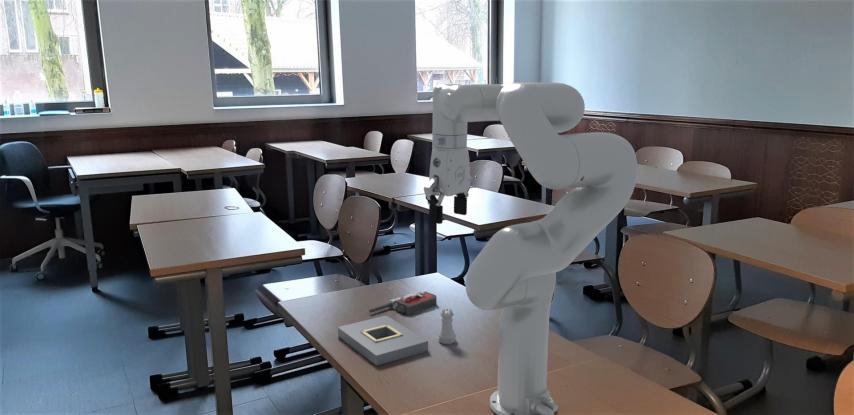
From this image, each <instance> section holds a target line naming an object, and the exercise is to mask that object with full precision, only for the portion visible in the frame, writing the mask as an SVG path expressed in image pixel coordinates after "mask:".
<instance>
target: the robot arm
mask: <svg viewBox="0 0 854 415" xmlns="http://www.w3.org/2000/svg"><path fill="white" fill-rule="evenodd" d="M585 106H586V105H585V99H584V98H583V96H582V94H581V92H579V91H578V89H577V88H575V87H573V86H572V85H569V84H566V83H563V82H562V83H561V82H523V81H522V82H521V81H519V82H518V81H517V82H516V81H515V82H514V81H513V82H510V83H507V84H505V83H504V84H502V83H501V84H500V83H498V84H496V83H494V84H493V83H485V84H484V83H483V84H482V83H481V84H480V83H477V84H476V83H474V84H460V83H459V84H458V83H441V84H437V85H435V86H434V88H433V90H432V130H431V131H432V134H431V135H432V136H431V138H432V142H431V143H432V145H431V148H432V150H431V156H430V163H429V164H430V165H429V180H428V182H427V183H426V185H425V186H424V187H423V192H424V195H425V200H426V202H427V205H428V209H429V210H428V221H429V222H430V223H431V224H432V223H434V224H437V225H441V224H443V221H444V220H443V216H444V215H443V214H444V212H443V211H444V209H443V208H444V206H443V205H442V203H443V201H444V198H445V197H452V196H454V197H453V213H454V214H456V215H462V216H466V215H467V213H468V212H467V211H468V197H469V195H470V194H469V191H470V188H471V183H472V179H473V176H472V175H471V165H470V163H471V162H470V156H469V154H470V153H469V148H468V123H474V122H493V121H495V122H496V121H498V122H499V121H500V123H501V124H502V126H503V129H504V131H505V132H506V135H507V137H508V138H509V140H510V142H511V143H512V145H513V146H514V148H515V150H516V151H517V153H518V155H519V156H520V158H521V159H522V162H523V163H524V165H525V166H526V167H527V169H528V171H529V173H530V174H531V176H532V177H533V178H534V180H535V181H536V182H537V183H538V184H539V185H541V186H542V187H544V188H546V189H549V190H566V189H567V190H568V189H572V190H571V191H570V192H567V194H565V195H563V197H562V198H560V199H559V200H558V202H556V204H555V205H554V206H553V208H552V209H550V211H549V212H548V213H547V214H546V215H545V216H544V217H542V218H540V219H536V220H532V221H529V222H524V223H523V222H522V223H516V224H512V225H508V226H505V227H503V228H501V229H500V230H498V231H497V232H496V233H494V234H493V235H492V236H491V237H490V239H488V241H487V242H486V244H485V245H484V247H483V248H482V249H481V250H480V252H479V253H478V254H477V256H476V257H475V259H474V260H473V261H472V263H471V264H470V266H469V268H468V271H467V273H466V277H465V292H466V295H467V297H468V300H469V301H470V302H471V304H472V305H473V306H475V307H476V308H478V309H479V310H483V311H497V310H499V309H502V310H501V314H500V316H499V320H498V345H497V346H498V348H497V351H498V353H497V354H498V355H497V390H495V391H493V393H492V394H490V397H489V407H490V409H491V410H492V412H494V413H495V414H496V415H555V412H557V411H558V410H559V405H557V404H556V403H555V401H554V400H553V398H552V397H551V392H550V391H551V390H549V389H547V382H548V381H547V380H548V351H549V349H548V348H549V334H550V332H549V327H550V313H551V306H552V305H551V304H552V301H553V297H554V292H555V289H556V284H557V283H556V282H557V274H556V273H558V272H560V271H563V270H564V269H566V268H567V267H568V266H569V265H571V264H572V262H573V261H574V260H575V259H576V258H577V257H579V255H580V254H581V253H582V252H583V251H584V250H585V249H586V248H587V247H588V246H589V244H591V243H592V242H593V240H594V239H595V238H596V237H597V236H598V234H600V233H601V232H602V231H603V230H604V229H605V228H606V227H607V226H608V225H609V224H610V223H611V222H612V221H614V219H615V218H616V217H617V216H618V215H619V213H621V211H622V210H623V209H624V208H625V207H626V205H627V204H628V202H629V201H630V199H631V197H632V195H633V193H634V189H635V188H636V182H637V180H638V179H637V178H638V160H637V154H636V152H635V149H634V148H633V145H632V144H631V143H630V142H629V141H628V140H627V139H626V138H624V137H622V136H621V135H618V134H615V133H611V132H604V131H603V132H600V131H597V132H596V131H595V132H594V131H593V132H580V133H568V134H567V133H565V132H567V131H570V130H571V129H574V128H575V127H576V126H577V125H578V124H579V123H580V122H581V120H582V118H584V114H585V109H586V107H585ZM561 133H565V134H561ZM436 196H437V197H436Z"/></svg>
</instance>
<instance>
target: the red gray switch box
mask: <svg viewBox="0 0 854 415" xmlns="http://www.w3.org/2000/svg"><path fill="white" fill-rule="evenodd" d="M437 299H438V298H437V295H435V294H434V293H431V292H428V291H419V292H418V293H415V292H411V293H407V294H404V295H402V296H400V297H396V298H393V299H390V300H389V301H388V302H387V303H386V304H382V305H378V306H375V307H373V308H372V307H371V308H369V310H368V311H369V314H370V313H374V312H377V311H381V310H383V309H386V308H387V309H388V308H392V310H395V311H398V312H399V313H400V314H404V315H413V314H415V313H418V312H421V311H424V310H426V309H431V308H432V307H433V308H434V307H436V306H437V304H438V303H437Z"/></svg>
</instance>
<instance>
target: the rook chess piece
mask: <svg viewBox="0 0 854 415" xmlns="http://www.w3.org/2000/svg"><path fill="white" fill-rule="evenodd" d="M440 316H441V318H442V319H441V322H442V324H441V330H440V331H439V334H438V339H437V340H438V342H439V343H440V344H442V345H452V344H454V343H455V342H456V341H457V337H456V336H457V334H456V333H455V331H454V329H453V322H454V320H453V316H455V315H454V313H453V310H452V309H450V308H446V309H442V310H441V312H440Z"/></svg>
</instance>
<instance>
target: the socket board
mask: <svg viewBox="0 0 854 415" xmlns="http://www.w3.org/2000/svg"><path fill="white" fill-rule="evenodd" d="M337 337H338V338H339V339H341V340H343V342H345V343H346V344H347V345H348V346H350V347H351V348H353V349H354V350H355V351H356V352H357V353H359V354H361V356H363V357H365V358H366V359H367V360H369V361H370V362H371V363H373V364H374V365H375V366H380V365H384V364H388V363H391V362H395V361H397V360H398V361H399V360H401V359H405V358H408V357H411V356H415V355H419V354H422V353H426V352H428V351H429V341H428V340H427V339H426V338H424V337H422V336H420V335H419V334H417V333H416V332H414V331H413V330H411V329H410V328H407V327H406V326H404V325H403V324H402V323H399V322H397V321H396V320H394V319H393V318H391V317H390V316H388V315H382V316H378V317H373V318H370V319H365V320H361V321H357V322H353V323H349V324H345V325H341V326H337Z"/></svg>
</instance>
